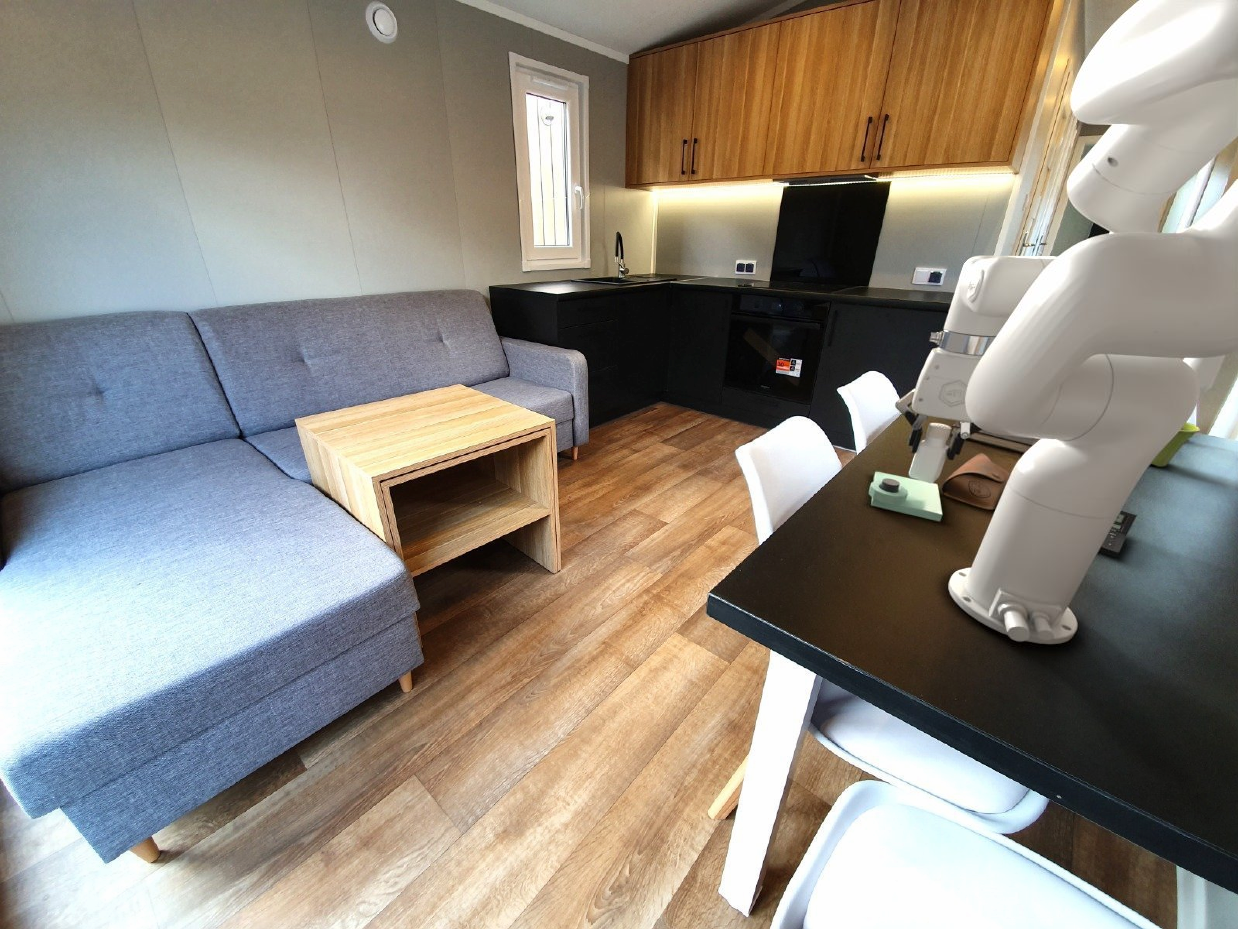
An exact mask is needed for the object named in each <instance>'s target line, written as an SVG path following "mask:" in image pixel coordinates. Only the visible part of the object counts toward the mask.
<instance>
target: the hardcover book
mask: <svg viewBox="0 0 1238 929" xmlns="http://www.w3.org/2000/svg"><path fill="white" fill-rule="evenodd" d="M970 423H972V422H970ZM951 428H953V429H952V430H951V432H950V435H949V436H953V434H954V433H955V432H957V430H958V429H959V421H956V422H955V423H954V424H953V425H951ZM965 440H969V441H973V442H977V443H980V444H984V445H988V446H992V447H996V448H1000V449H1004V450H1007V451H1012V452H1015V453H1019V454H1022V455H1024V453H1025V452H1027V451H1028V450H1029V449H1030V448H1031V447H1032V446H1033V445H1034V444H1035V443H1037V442H1038V441H1039V440H1040V439H1038V438H1026V437H1015V436H1006V435H999V434H994V433H991V432H988V431H985V430H983V429H982V430H980V431H978V432H976V433H974V434H972V435H970V436H969V437H968V438H966V439H965Z"/></svg>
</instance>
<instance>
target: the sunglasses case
mask: <svg viewBox="0 0 1238 929" xmlns="http://www.w3.org/2000/svg"><path fill="white" fill-rule="evenodd" d="M1010 475H1011V472H1009V471H1007V470H1005V469H1004V468H1002V467H1001V466H999V465H998V464H996V463H995V462H993V461H992V460H991V459H990V457H988V456H987V455H986V453H983V452H981V453H978V454H975V456H973V457H972V458H970V459H969V460H968V461H966V462H965V463H963V465H961V466H959V468H958V469H956V470H955V471H954V472H952V474H950V475H949V476H948V477H947V479H946V480H945V481H944V482H943V483H942V485H941V491H942V494H943V495H944V496H945V497H947V498H949V499H952V500H956V501H958V502H961V503H964V504H968V505H970V506H974V507H977V508H980V509H984V510H990V511H994V510H995V509H996V507H997V505H998V503H999V501H1000V498H1001V496H1002V493H1003V491H1004V489H1005V486H1006V484H1007V482H1008V480H1009V477H1010Z"/></svg>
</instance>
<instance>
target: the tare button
mask: <svg viewBox="0 0 1238 929" xmlns="http://www.w3.org/2000/svg"><path fill="white" fill-rule="evenodd" d="M899 486H900V483H899V482H898V481H896V480H894V479H889V478H885V479H883V480H882V483H881V487H880V488H881V489H882V490H884V491H886V492H891V493H897V492H898V489H899Z"/></svg>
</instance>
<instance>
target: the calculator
mask: <svg viewBox="0 0 1238 929" xmlns="http://www.w3.org/2000/svg"><path fill="white" fill-rule="evenodd" d="M1136 518H1137V514H1134V513H1131V512H1127V511H1123V510H1121V512H1120V513H1119V515H1118V516H1117V518H1116V520H1115V522H1114V524H1113V525H1112V527H1111V529H1110V531H1109V533H1108V535H1107V536H1106V538H1105V540H1104V542H1103V544H1102V545H1101V547H1100V549H1099V551H1098V553H1101V554H1104V555H1106V556H1110V557H1112V558H1117V557H1118V555H1119V554H1120V551H1121V548H1122V546H1123V545H1124V542H1125V540H1126V538H1127V535H1128V533H1129V532H1130V529H1131V527H1132V525H1133V524H1134V522H1135V520H1136Z"/></svg>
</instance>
